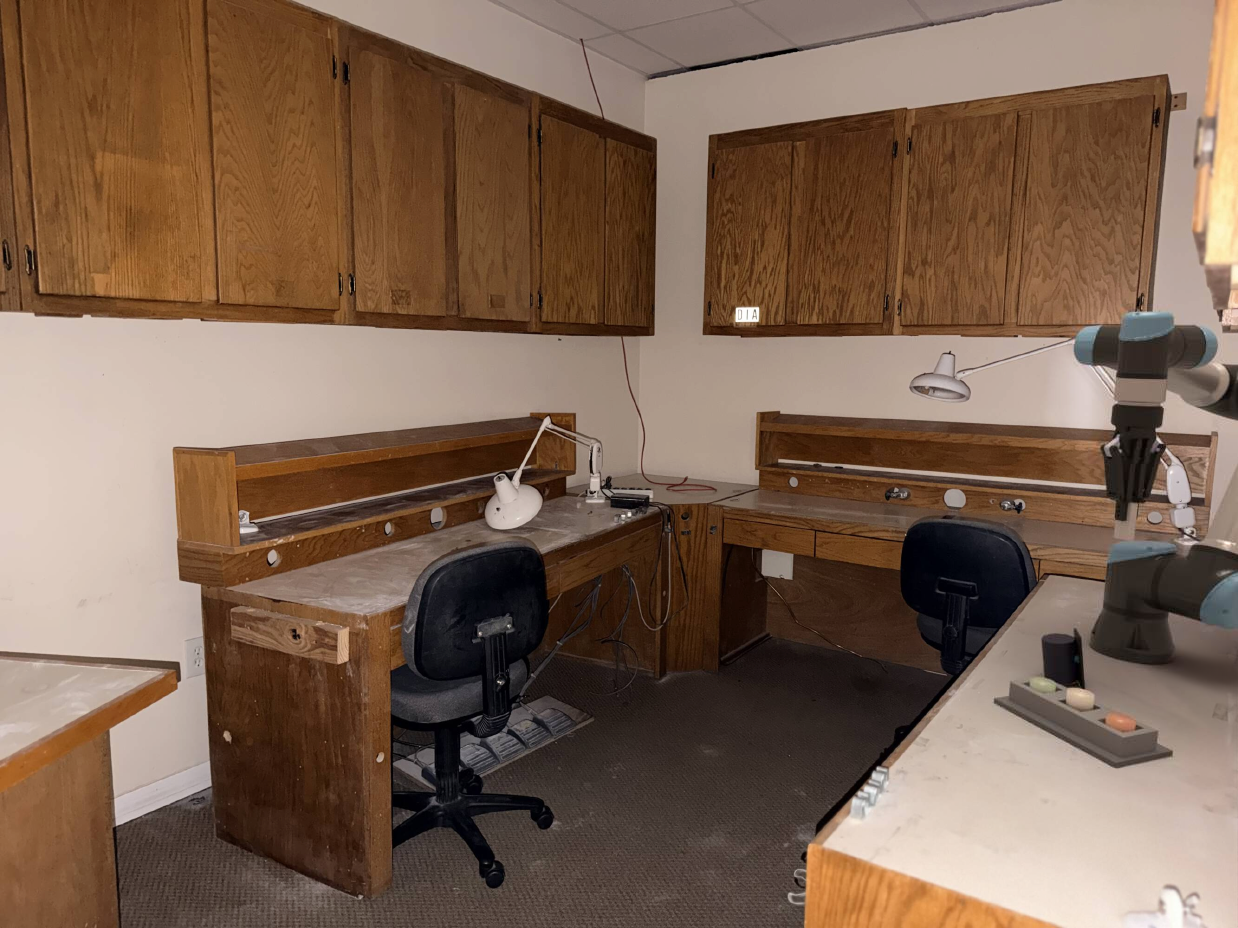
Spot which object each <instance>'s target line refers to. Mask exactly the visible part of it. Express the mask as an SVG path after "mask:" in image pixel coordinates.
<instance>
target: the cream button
mask: <svg viewBox="0 0 1238 928" xmlns="http://www.w3.org/2000/svg"><path fill="white" fill-rule="evenodd" d="M1094 701H1095V694H1094V692H1092V691H1090V690H1087V689H1085V690H1084V689H1081V687H1080V688H1079V687H1078V688H1077V687H1068V689H1067V695H1066V705H1067V706H1069V707H1071V708H1073V709H1076V710H1078V711H1080V712H1085V711H1090V710H1093V706H1094Z"/></svg>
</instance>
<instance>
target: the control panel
mask: <svg viewBox="0 0 1238 928" xmlns="http://www.w3.org/2000/svg"><path fill="white" fill-rule="evenodd" d="M1040 677H1043V678H1045V677H1044V675H1043V676H1040ZM1031 678H1032V677H1030V678H1025V679H1017V680H1011V681H1010V682H1009V691H1008V695H1005V696H1000V697H994V698H993V703H994V704H996V705H997V706H1000V707H1001V708H1003V709H1005V710H1007V711H1008V712H1011V713H1013V714H1014V715H1016V716H1017V717H1018V716H1019V717H1020V718H1022V719H1024V720H1026V721H1027V722H1029V723H1031V724H1033V725H1035V726H1037V727H1039V728H1040V729H1042V730H1044V731H1046V732H1048V733H1050V734H1052V735H1054V736H1055V737H1057V738H1059V739H1061V740H1062V741H1065V742H1066V743H1067V744H1070V745H1072V746H1074V747H1076V748H1077V749H1079V750H1081V751H1083V752H1084V753H1087V754H1088V755H1090V756H1092V757H1094V758H1096V759H1097V760H1100V761H1102V762H1104V763H1106V764H1107V765H1110V766H1111V767H1113V768H1115V769H1118V768H1121V767H1125V766H1130V765H1134V764H1140V763H1143V762H1148V761H1149V762H1150V761H1153V760H1158V759H1162V758H1167V757H1170V756H1171V757H1172V756H1173V752H1174V750H1172V749H1170V748H1168V747H1166V746H1164V745H1162V744H1160V743H1159V742H1158V738H1159V737H1158V736H1159V730H1158V729H1156V728H1153V727H1152V726H1150V725H1148V724H1146V723H1143V722H1141V721H1139V720H1136V719H1135V720H1136V726H1135V730H1134V731H1129V732H1124V733H1123V732H1120V731H1118V730H1116V729H1114V728H1112V727H1110V726H1108V725H1106V724H1105V723H1106V715H1107V714H1108V713H1120V714H1123V713H1122V712H1120V711H1118V710H1116V709H1113V708H1111V707H1109V706H1107V705H1105V704H1102V703H1100V702H1098V701H1097V700H1094V706H1093V710H1090V711H1085V712H1080V711H1078V710H1076V709H1073V708H1071V707H1069V706H1067V705H1066V695H1067V689H1069V687H1066V686H1065V685H1060V684H1058V683H1056V682H1055V683H1056V688H1055V692H1050V693H1044V694H1043V693H1041V692H1039V691H1037V690H1035V689H1033V688H1031V687H1029V686H1030V679H1031Z"/></svg>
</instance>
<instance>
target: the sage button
mask: <svg viewBox="0 0 1238 928" xmlns="http://www.w3.org/2000/svg"><path fill="white" fill-rule="evenodd" d="M1043 677H1044V676H1043ZM1043 677H1041V676H1032V677H1030V678H1031V679H1030V686H1029V687H1031V688H1033V689H1035V690H1037V691H1039V692H1041V693H1043V694H1044V693H1050V692H1055V688H1056V683H1055V682H1054V681H1052V680H1050V679H1047V678H1043Z"/></svg>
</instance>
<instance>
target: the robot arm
mask: <svg viewBox="0 0 1238 928" xmlns="http://www.w3.org/2000/svg"><path fill="white" fill-rule="evenodd" d="M1121 320H1122V321H1121V325H1104V324H1100V325H1091V326H1086V327H1084V328H1082V329H1081V330H1079V331H1078V333H1077V335H1076V336H1075V339H1074V340H1075V341H1074V344H1073V355H1074V358H1075V360H1077V362H1078V363H1079V364H1081V365H1086V366H1090V367H1091V366H1092V367H1105V368H1109V369H1111V370H1114V371H1116V372H1115V373H1116V374H1115V384H1114V393H1113V400H1114V401H1115V402H1117V403H1114V404H1113V405H1112V408H1111V416H1110V418H1111V419H1110V423H1111V425H1112V426H1114V427H1115V430H1114V432H1113V435H1112V440H1111V441H1110V442H1109V443H1108V444H1106V443H1102V444H1101V445H1100V452H1101V454H1102V457H1103V465H1104V476H1105V491H1106V497H1107V498H1109V499H1110V500H1111V501H1115V508H1114V509H1115V511H1114V520H1115V522H1114V531H1113V538H1115V539H1119V540H1122V541H1118V542H1115V543H1113V544H1112V545H1110V547H1109V548H1108V549H1109V551H1108V555H1107V559H1106V561H1105V564H1106V567H1105V568H1106V571H1105V579H1104V589H1103V603H1102V608H1101V611H1100V614H1099V615H1098V617H1097V619H1096V621H1095V623H1094V624H1093V628H1092V629H1091V630H1090V631H1091V632H1090V634H1089V642H1088V643H1089V646H1090V647H1091V648H1092V649H1093V650H1095V651H1097V652H1099V653H1101V654H1103V655H1106V656H1108V657H1112V658H1115V659H1118V660H1123V661H1128V662H1134V663H1141V664H1153V665H1155V664H1159V665H1160V664H1161V665H1162V664H1167V663H1170V662H1172V661H1174V659H1175V653H1176V652H1175V651H1176V647H1175V644H1174V640H1173V635H1172V631H1171V627H1170V622H1169V613H1170V614H1173V615H1177V616H1179V617H1183V618H1187V619H1189V620H1190V619H1191V620H1194V621H1198V622H1200V623H1204V624H1205V625H1207V626H1211V627H1219V628H1224V629H1228V630H1237V629H1238V463H1237V465H1236V467H1235V469H1234V471H1233V474H1232V477H1230V478H1231V479H1230V481H1229V482H1228V485H1227V486H1226V487H1227V488H1226V489H1225V492H1224V494H1223V497H1222V499H1221V501H1220V503H1219V505H1218V508H1217V510H1216V512H1215V515H1214V517H1213V519H1212V521H1211V523H1210V525H1209V528H1208V531H1207V532H1206V535H1205V537H1204V539H1203V540H1201V541H1197V542H1195V543H1192V545H1191V546H1190V549H1189V551H1188V552H1187V555H1183V554H1177V552H1178V549H1177V546H1176V545H1175V544H1173V543H1171V542H1165V541H1156V540H1135V534H1136V525H1137V519H1138V517H1139V516H1138V515H1139V508H1140V504H1145V503H1146V502H1147V499H1150V497H1151V493H1152V491H1153V487H1154V484H1155V479H1156V476H1157V473H1158V468H1159V466H1160V462H1161V459H1162V456H1163V455H1164V453H1165V451H1166V449H1167V445H1166V444H1165V443H1160V442H1159V441H1158V440H1157V439H1158V438H1157V431H1156V430H1157V429H1159V428H1161V427H1163V422H1164V414H1165V413H1164V412H1165V408H1164V407H1163V406H1162V405H1161V404H1163V403H1165V402H1166V398H1167V397H1166V396H1167V391H1168V392H1171V393H1174V394H1176V395H1178V396H1180V398H1181V400H1182V401H1183V402H1185V404H1188V405H1190V406H1193V407H1195V408H1197V409H1200V410H1203V411H1205V412H1208V413H1210V414H1213V415H1216V416H1220V417H1222V418H1226V419H1229V420H1234V421H1238V364H1226V363H1220V362H1217V361H1215V360H1213V359H1214V358H1215V357H1216V354H1217V352H1218V349H1219V343H1218V338H1217V336H1216V334H1215V333H1214V332H1213V331H1212V330H1211V329H1209V328H1207V327H1205V326H1202V325H1201V326H1199V325H1197V324H1175V316H1174V315H1173V313H1172V312H1169V311H1131V312H1127V313H1126V314H1124V315H1123V317H1122V319H1121Z"/></svg>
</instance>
